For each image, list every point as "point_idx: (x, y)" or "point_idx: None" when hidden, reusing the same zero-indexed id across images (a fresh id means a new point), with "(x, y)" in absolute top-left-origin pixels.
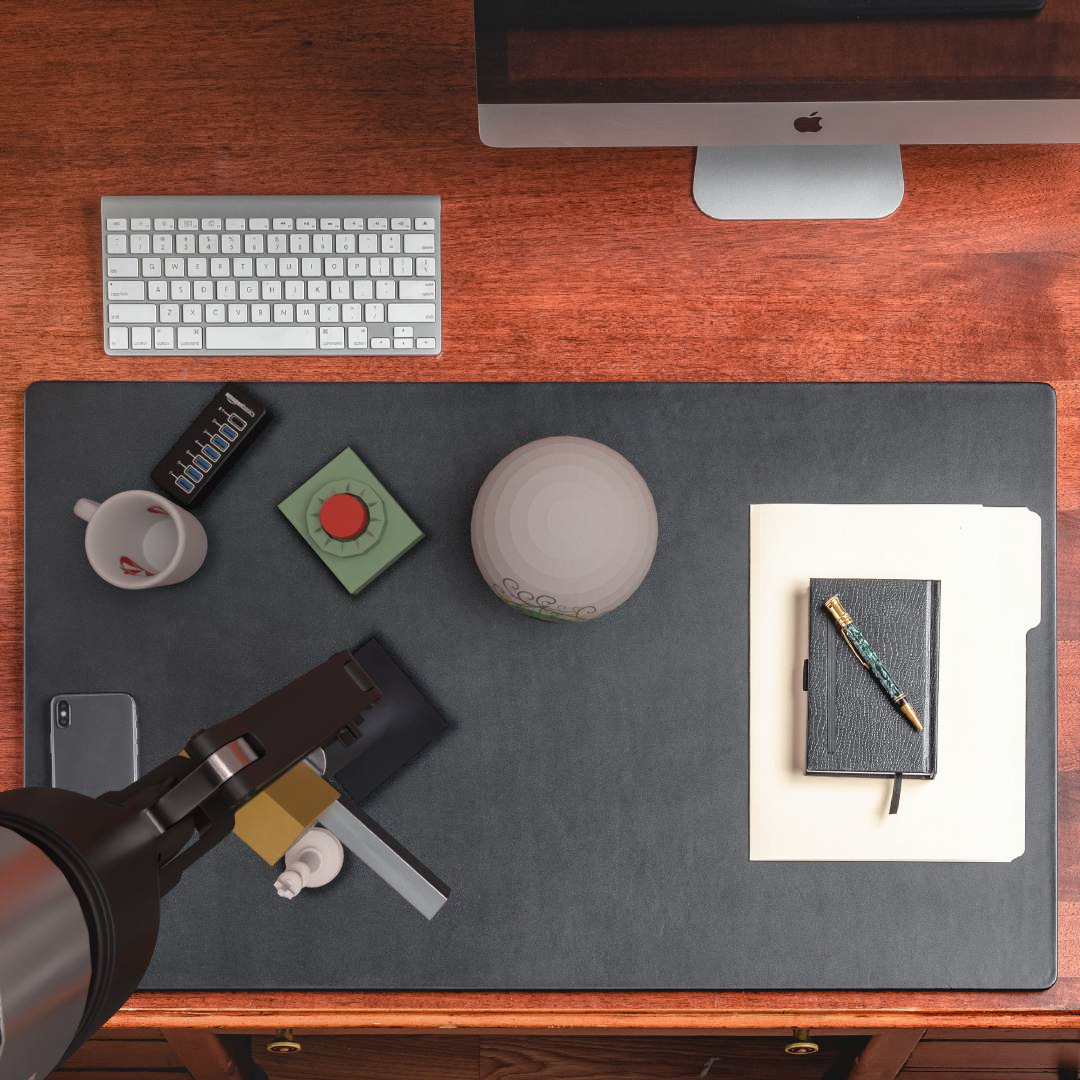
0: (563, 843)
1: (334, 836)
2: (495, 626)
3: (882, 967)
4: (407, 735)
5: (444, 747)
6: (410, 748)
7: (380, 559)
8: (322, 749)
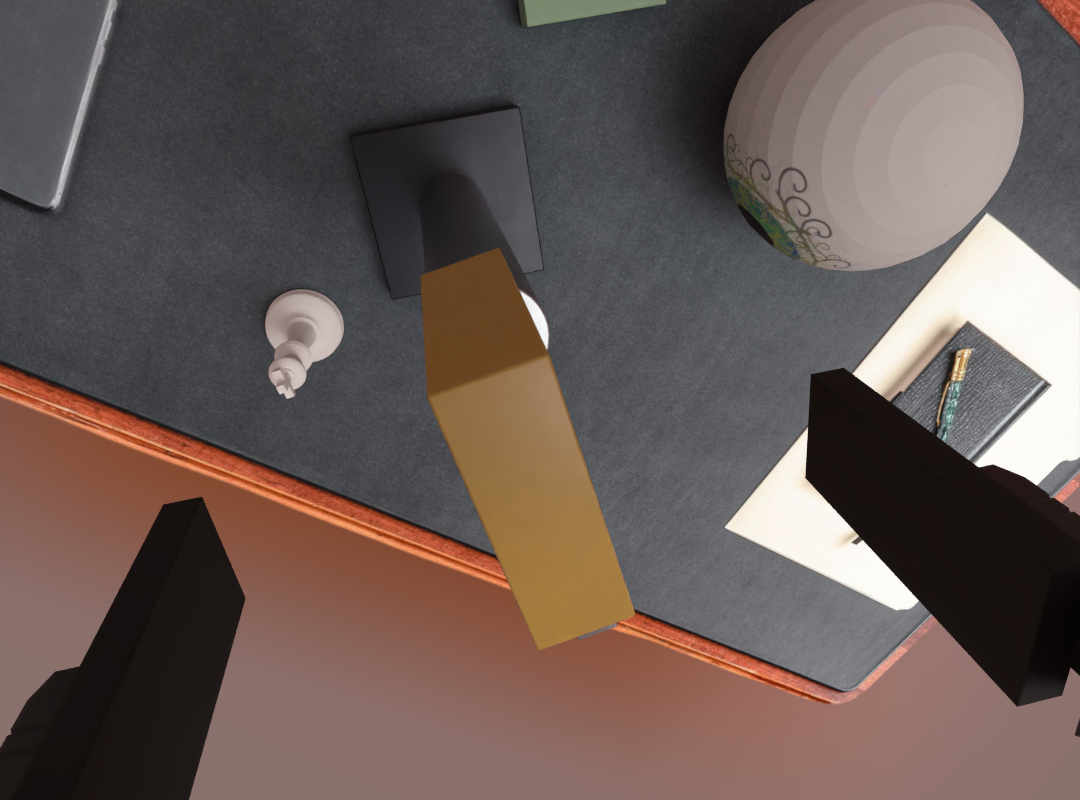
0: (579, 440)
1: (340, 316)
2: (658, 181)
3: (755, 639)
4: None
5: None
6: None
7: (592, 3)
8: (1019, 705)
